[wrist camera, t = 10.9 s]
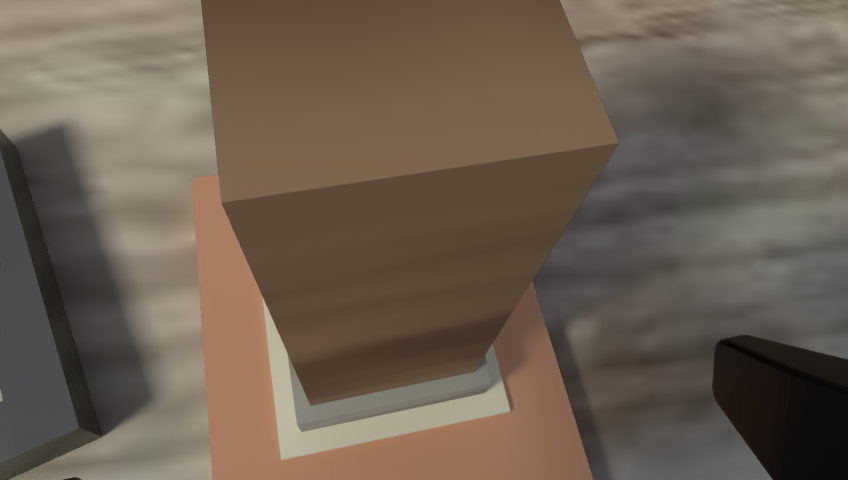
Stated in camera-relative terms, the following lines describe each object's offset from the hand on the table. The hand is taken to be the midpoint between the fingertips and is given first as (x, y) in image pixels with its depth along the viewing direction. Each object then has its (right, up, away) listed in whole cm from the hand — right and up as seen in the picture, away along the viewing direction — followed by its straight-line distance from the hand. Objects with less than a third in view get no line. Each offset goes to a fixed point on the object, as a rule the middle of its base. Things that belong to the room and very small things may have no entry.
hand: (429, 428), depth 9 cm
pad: (-1, 0, +10) cm, 10 cm away
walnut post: (-1, 0, +10) cm, 10 cm away
